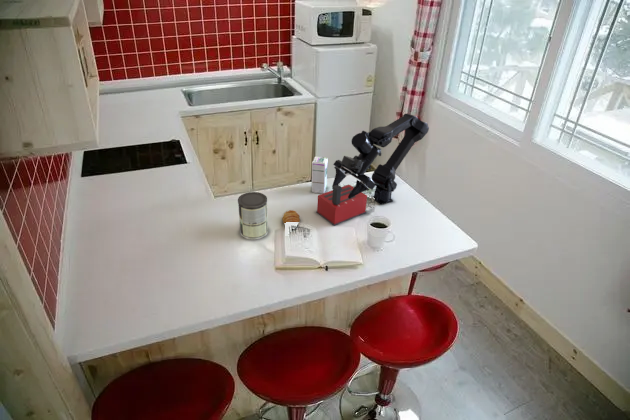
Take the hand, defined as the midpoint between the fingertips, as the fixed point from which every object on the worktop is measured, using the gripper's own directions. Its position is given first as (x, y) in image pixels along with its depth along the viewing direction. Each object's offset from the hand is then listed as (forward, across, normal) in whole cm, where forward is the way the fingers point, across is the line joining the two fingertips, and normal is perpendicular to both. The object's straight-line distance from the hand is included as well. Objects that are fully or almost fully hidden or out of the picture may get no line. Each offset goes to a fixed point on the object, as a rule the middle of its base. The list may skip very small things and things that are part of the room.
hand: (340, 192), depth 164 cm
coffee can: (+31, -11, -13) cm, 35 cm away
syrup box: (+3, -23, +14) cm, 27 cm away
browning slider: (+4, 0, +1) cm, 4 cm away
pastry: (+20, -8, -3) cm, 22 cm away
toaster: (+6, -3, +12) cm, 13 cm away
